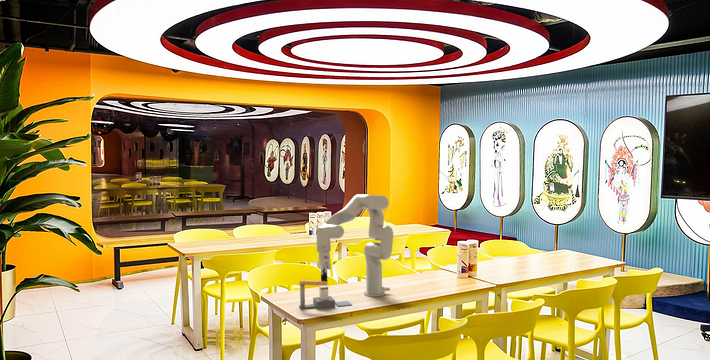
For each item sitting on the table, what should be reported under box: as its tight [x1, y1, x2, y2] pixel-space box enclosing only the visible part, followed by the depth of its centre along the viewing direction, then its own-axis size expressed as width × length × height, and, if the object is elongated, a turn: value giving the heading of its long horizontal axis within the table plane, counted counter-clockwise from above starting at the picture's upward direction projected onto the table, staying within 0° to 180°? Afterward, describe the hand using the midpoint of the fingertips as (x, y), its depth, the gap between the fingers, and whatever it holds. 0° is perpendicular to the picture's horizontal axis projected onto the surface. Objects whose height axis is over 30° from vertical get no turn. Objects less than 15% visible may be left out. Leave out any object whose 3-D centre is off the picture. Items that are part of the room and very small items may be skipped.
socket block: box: [298, 284, 336, 310], centre depth 278 cm, size 18×10×13 cm, turn 107°
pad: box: [335, 300, 353, 308], centre depth 282 cm, size 8×8×1 cm
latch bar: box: [299, 279, 329, 286], centre depth 275 cm, size 16×3×2 cm, turn 79°
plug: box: [318, 285, 329, 300], centre depth 279 cm, size 4×4×11 cm
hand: (324, 281), depth 276 cm, fingers closed
